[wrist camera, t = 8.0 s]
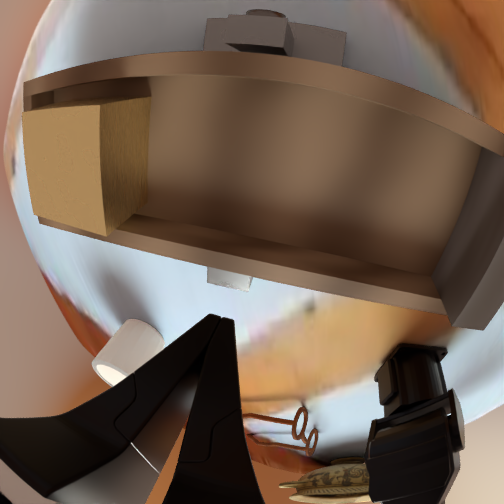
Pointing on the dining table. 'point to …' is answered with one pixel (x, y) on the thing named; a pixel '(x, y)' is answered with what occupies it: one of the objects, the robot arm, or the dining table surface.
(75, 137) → the brass block
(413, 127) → the beam
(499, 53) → the dining table surface
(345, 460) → the ceramic bowl
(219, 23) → the pivot stand
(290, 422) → the glasses
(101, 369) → the white cup
